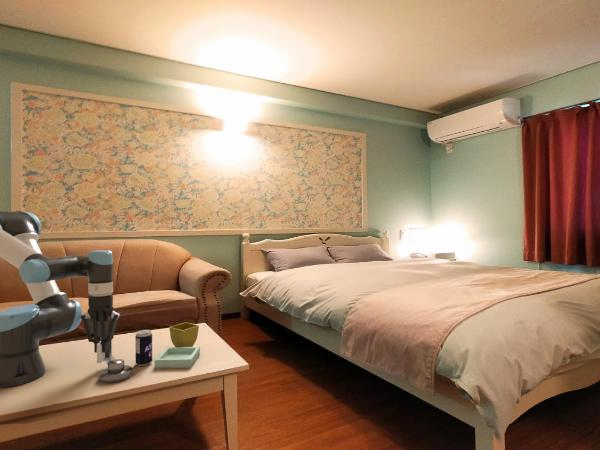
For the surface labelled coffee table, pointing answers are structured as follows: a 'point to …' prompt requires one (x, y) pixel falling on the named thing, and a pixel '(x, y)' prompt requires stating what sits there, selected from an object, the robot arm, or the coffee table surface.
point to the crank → (113, 361)
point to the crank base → (115, 375)
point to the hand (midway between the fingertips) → (100, 361)
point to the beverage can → (143, 347)
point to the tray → (177, 357)
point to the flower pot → (184, 334)
